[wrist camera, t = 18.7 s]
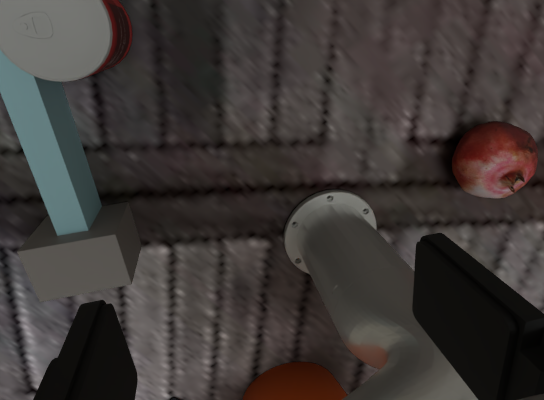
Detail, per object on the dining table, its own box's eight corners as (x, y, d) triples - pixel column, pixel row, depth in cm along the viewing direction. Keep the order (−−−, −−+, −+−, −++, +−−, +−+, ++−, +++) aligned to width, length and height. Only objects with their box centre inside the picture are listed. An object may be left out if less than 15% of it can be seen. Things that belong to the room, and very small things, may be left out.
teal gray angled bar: (190, 236, 47) (189, 273, 40) (65, 259, 45) (40, 302, 38) (126, -46, 34) (107, -67, 27) (-51, -30, 33) (-121, -49, 25)
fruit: (503, 106, 48) (574, 123, 39) (501, 173, 52) (565, 202, 43) (437, 127, 47) (494, 148, 38) (440, 193, 51) (492, 226, 42)
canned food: (27, 0, 34) (-42, -14, 24) (109, -30, 35) (74, -57, 25) (72, 82, 38) (29, 99, 28) (147, 54, 38) (130, 60, 28)
